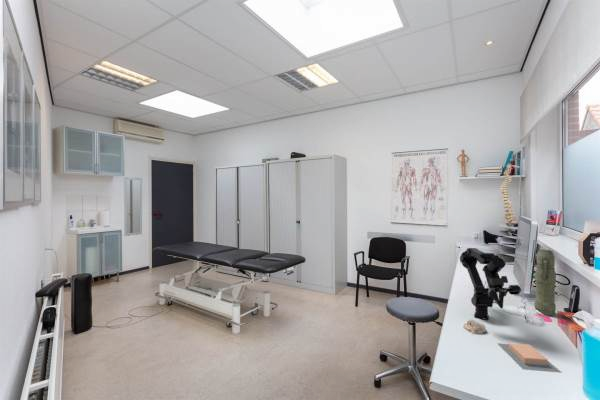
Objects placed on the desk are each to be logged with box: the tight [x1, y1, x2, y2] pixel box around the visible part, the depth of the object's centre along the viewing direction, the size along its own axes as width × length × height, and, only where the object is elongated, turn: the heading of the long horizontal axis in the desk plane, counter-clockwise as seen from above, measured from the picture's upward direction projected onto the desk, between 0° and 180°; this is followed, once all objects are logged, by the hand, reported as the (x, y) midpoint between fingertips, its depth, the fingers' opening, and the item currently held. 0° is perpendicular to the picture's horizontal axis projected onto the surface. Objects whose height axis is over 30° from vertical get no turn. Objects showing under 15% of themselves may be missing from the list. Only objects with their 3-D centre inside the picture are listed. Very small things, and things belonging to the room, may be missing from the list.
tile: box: [508, 342, 549, 366], centre depth 116 cm, size 2×8×11 cm
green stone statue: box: [534, 249, 557, 317], centre depth 160 cm, size 9×12×35 cm
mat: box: [496, 342, 562, 373], centre depth 117 cm, size 19×13×1 cm
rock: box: [462, 319, 487, 335], centre depth 140 cm, size 11×8×6 cm
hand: (501, 308), depth 135 cm, fingers closed
